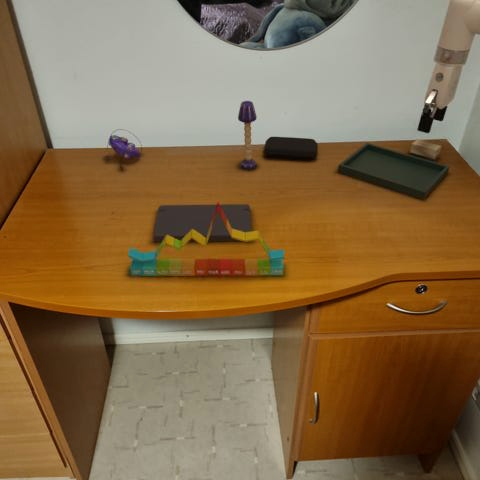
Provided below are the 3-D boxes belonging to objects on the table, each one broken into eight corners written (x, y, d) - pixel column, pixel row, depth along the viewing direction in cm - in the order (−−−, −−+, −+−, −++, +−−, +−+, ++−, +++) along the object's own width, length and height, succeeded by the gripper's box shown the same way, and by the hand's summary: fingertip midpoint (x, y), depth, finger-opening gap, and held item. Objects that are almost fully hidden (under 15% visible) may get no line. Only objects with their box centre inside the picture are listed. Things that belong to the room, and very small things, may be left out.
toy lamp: (243, 171, 128) (243, 107, 116) (235, 164, 130) (234, 101, 119) (259, 167, 129) (261, 103, 118) (250, 160, 132) (251, 97, 120)
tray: (447, 173, 127) (449, 166, 125) (423, 200, 117) (425, 192, 116) (365, 149, 137) (367, 142, 136) (337, 172, 127) (338, 164, 126)
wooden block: (437, 157, 133) (441, 145, 131) (433, 162, 131) (436, 150, 129) (413, 151, 136) (416, 139, 134) (408, 155, 134) (412, 143, 132)
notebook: (154, 242, 105) (251, 240, 105) (153, 236, 104) (251, 234, 104) (159, 210, 114) (249, 209, 114) (158, 205, 113) (249, 203, 113)
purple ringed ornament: (152, 143, 131) (126, 149, 124) (145, 169, 136) (120, 176, 129) (126, 124, 133) (99, 129, 126) (120, 150, 138) (94, 156, 131)
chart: (131, 276, 96) (118, 210, 86) (133, 266, 99) (121, 201, 88) (282, 276, 96) (288, 210, 86) (281, 266, 99) (286, 201, 88)
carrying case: (317, 145, 139) (266, 142, 140) (318, 135, 137) (266, 132, 138) (316, 162, 131) (262, 159, 133) (317, 152, 129) (263, 148, 130)
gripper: (454, 67, 109) (431, 140, 121) (478, 49, 119) (455, 119, 131) (422, 60, 113) (403, 132, 125) (448, 44, 123) (428, 112, 135)
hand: (430, 125), depth 128 cm, fingers open, 9 cm apart
